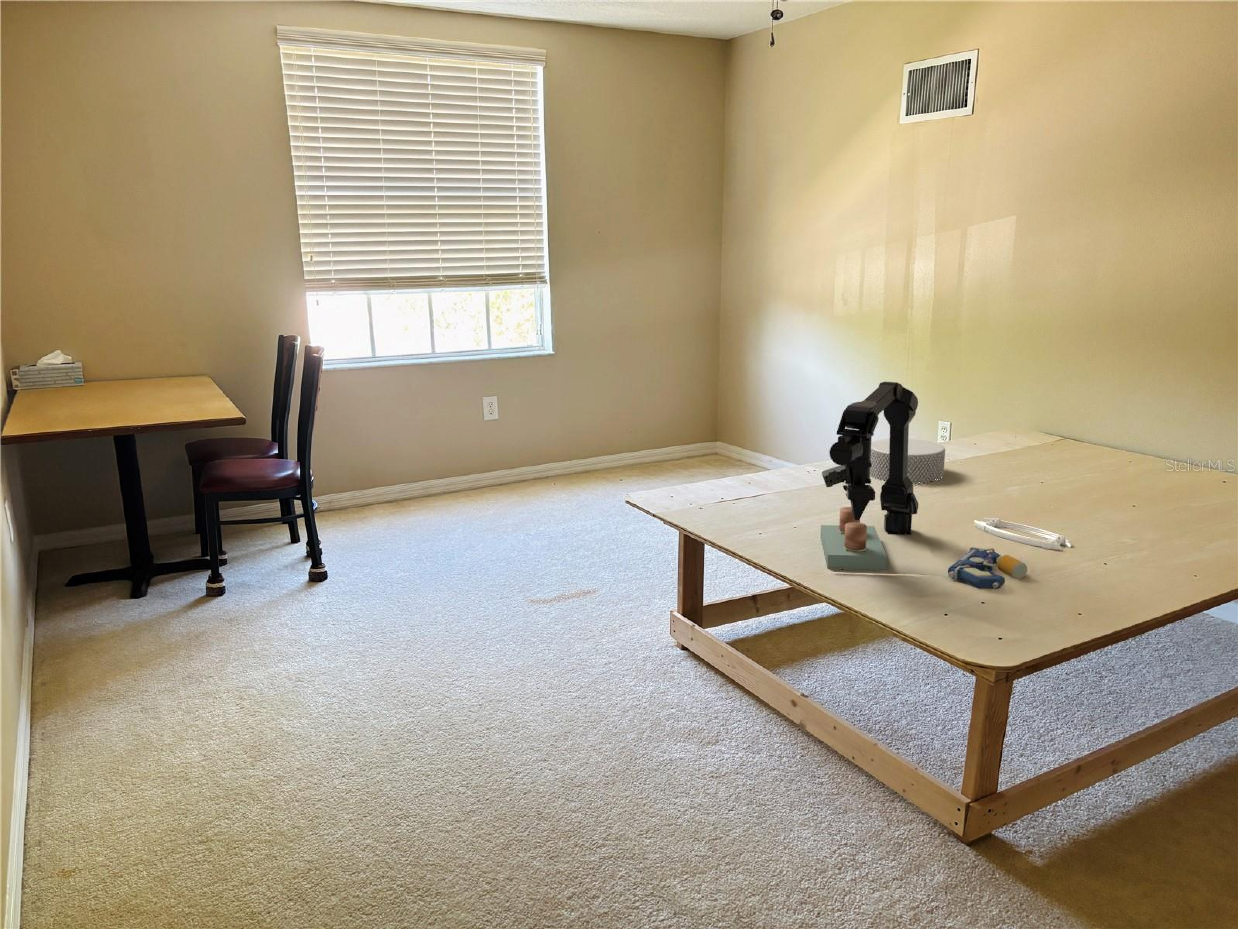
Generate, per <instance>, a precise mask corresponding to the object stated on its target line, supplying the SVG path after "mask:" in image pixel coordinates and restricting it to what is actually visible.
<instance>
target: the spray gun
mask: <svg viewBox="0 0 1238 929" xmlns="http://www.w3.org/2000/svg"><path fill="white" fill-rule="evenodd" d="M996 567H997V569H998V571H1000V572H1002V573H1004V574H1005V575H1008V576H1009V577H1011V578H1013V579H1022V578H1024V577H1025V576H1026V575H1027V573H1028V566H1027V565H1026V563H1025V562H1023V561H1021V560H1019V559H1017V558H1015V557H1012V556H1010V555H1009V554H1005V555H1001V554H1000V553H997V552H996V550H995V548H981V547H976V546H971V547H970V548H969V551H968V552H967V553H965V554H964V555H963V556H961V558H959V559H958V560H957V561H956V562H954V563H953V564H952V565H951V566H949V567H948V569H947V573H948V574H947V575H948V577H949V579H954V581H957V582H959V581H961V582H962V583H965V584H967V585H969V586H972V587H974V588H977V589H979V590H997V589H1000V588H1002V587H1003V585H1005V583H1006V581H1005V580H1006V578H1005V577H1004V576H1002V575H1001V574H996Z"/></svg>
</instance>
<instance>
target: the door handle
mask: <svg viewBox="0 0 1238 929" xmlns="http://www.w3.org/2000/svg"><path fill="white" fill-rule="evenodd" d="M982 519H983V520H982V521H979V520H977V519H975V520H974V522H973V524H974V526H975V528H977V529H979V530H980V531H982V532H984V531H985V532H986V533H988V534H990V535H994V536H995V537H998V538H1002V539H1005V540H1009V541H1013V542H1015V543H1021V544H1024V545H1029V546H1034V547H1037V548H1043V549H1047V550H1054V551H1059V552H1061V551H1063V547H1061V545H1062V546H1066V547H1067V548H1068V547H1069V548H1072V545H1073V544H1072V542H1071V540H1070V539H1069V538H1067V537H1066V536H1065V535H1062V534H1057V533H1054V532H1051V531H1048V530H1044V529H1041V528H1038V527H1034V526H1029V525H1026V524H1022V523H1017V522H1012V521H1006V520H1002V519H1000V518H997V517H991V518H987V517H983V518H982ZM999 527H1000V528H1003V527H1007V528H1006V529H1008V528H1009V529H1010V528H1011V529H1010V530H1013V531H1018V532H1023V533H1027V534H1030V535H1033V536H1037V537H1041V538H1044V540H1043V539H1039V538H1035V537H1028V536H1025V535H1021V534H1016V533H1013V532H1009V531H1006V530H1004V529H1003V530H1002V529H999Z"/></svg>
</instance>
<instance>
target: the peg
mask: <svg viewBox="0 0 1238 929" xmlns="http://www.w3.org/2000/svg"><path fill="white" fill-rule="evenodd" d="M867 526H868V525H867V524H866V523H863V522H860V523H858V522H851V523H847V524H845V543H844V548H845V549H846V550H848V551H851V552H862V551H865V550H866V536H867Z"/></svg>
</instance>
